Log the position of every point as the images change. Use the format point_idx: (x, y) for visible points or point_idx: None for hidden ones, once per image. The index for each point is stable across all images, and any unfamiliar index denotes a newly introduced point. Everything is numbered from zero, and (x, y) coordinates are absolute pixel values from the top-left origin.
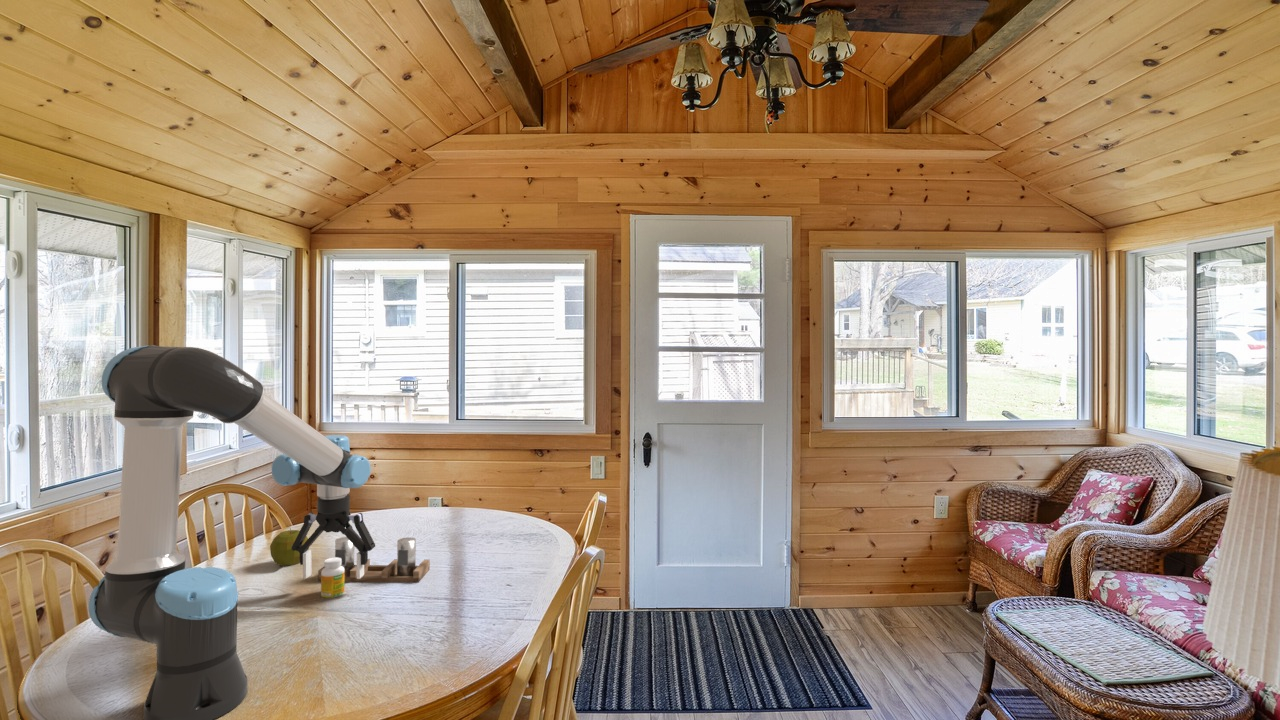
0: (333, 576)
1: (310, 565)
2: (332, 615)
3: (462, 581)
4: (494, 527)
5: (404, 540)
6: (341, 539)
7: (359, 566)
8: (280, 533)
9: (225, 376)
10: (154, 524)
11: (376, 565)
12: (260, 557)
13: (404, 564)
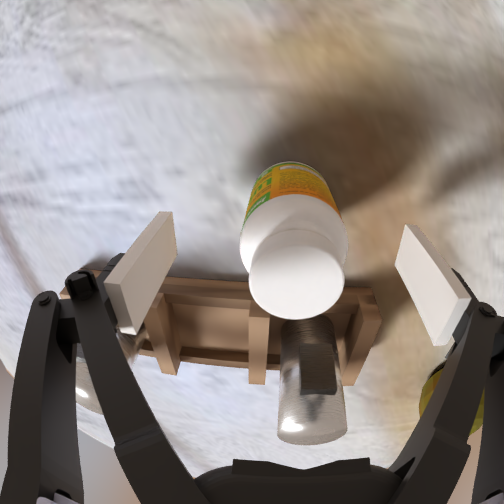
0: (270, 197)
1: (411, 283)
2: (216, 46)
3: (25, 284)
4: None
5: (91, 399)
6: (326, 433)
7: (137, 240)
8: (479, 426)
9: None
10: None
11: (229, 365)
12: None
13: None
